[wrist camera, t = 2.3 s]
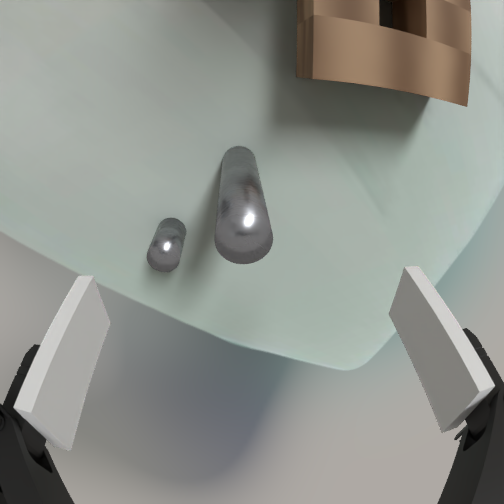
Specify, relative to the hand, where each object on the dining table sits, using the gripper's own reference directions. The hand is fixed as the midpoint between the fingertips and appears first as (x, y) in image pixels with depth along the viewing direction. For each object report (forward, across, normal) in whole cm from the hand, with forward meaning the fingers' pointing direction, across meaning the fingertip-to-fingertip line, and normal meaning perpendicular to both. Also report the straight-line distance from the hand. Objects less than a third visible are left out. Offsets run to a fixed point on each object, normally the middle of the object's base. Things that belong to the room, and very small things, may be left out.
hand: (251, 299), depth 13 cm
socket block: (+18, +12, +15) cm, 27 cm away
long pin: (+18, 0, 0) cm, 18 cm away
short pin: (+18, -7, -7) cm, 21 cm away
